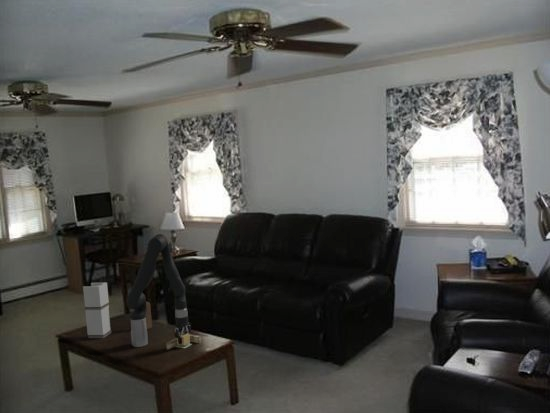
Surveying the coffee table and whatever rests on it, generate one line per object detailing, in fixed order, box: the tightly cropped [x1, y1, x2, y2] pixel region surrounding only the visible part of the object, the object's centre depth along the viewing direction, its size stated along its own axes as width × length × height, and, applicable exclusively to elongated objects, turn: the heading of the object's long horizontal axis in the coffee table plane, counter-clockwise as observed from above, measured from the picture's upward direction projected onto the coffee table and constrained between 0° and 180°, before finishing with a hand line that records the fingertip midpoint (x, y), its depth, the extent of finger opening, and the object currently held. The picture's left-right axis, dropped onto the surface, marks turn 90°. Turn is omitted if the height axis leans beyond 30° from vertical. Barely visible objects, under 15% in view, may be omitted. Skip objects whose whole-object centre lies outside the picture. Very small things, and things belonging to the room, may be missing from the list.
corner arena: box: [165, 334, 202, 350], centre depth 303 cm, size 13×17×4 cm
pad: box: [174, 342, 193, 349], centre depth 303 cm, size 8×8×1 cm
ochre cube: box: [177, 332, 191, 346], centre depth 303 cm, size 6×6×6 cm
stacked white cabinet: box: [82, 282, 112, 339], centre depth 332 cm, size 11×11×35 cm
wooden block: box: [146, 301, 153, 330], centre depth 340 cm, size 9×4×18 cm, turn 131°
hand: (183, 342), depth 303 cm, fingers closed on ochre cube, 5 cm apart
